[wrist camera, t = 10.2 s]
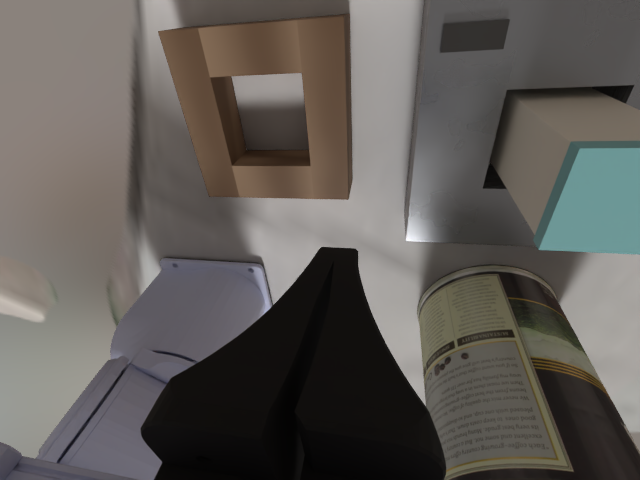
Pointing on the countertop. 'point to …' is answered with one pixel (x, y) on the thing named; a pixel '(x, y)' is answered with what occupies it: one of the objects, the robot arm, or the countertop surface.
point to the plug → (572, 167)
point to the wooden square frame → (222, 112)
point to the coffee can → (515, 384)
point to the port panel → (500, 100)
